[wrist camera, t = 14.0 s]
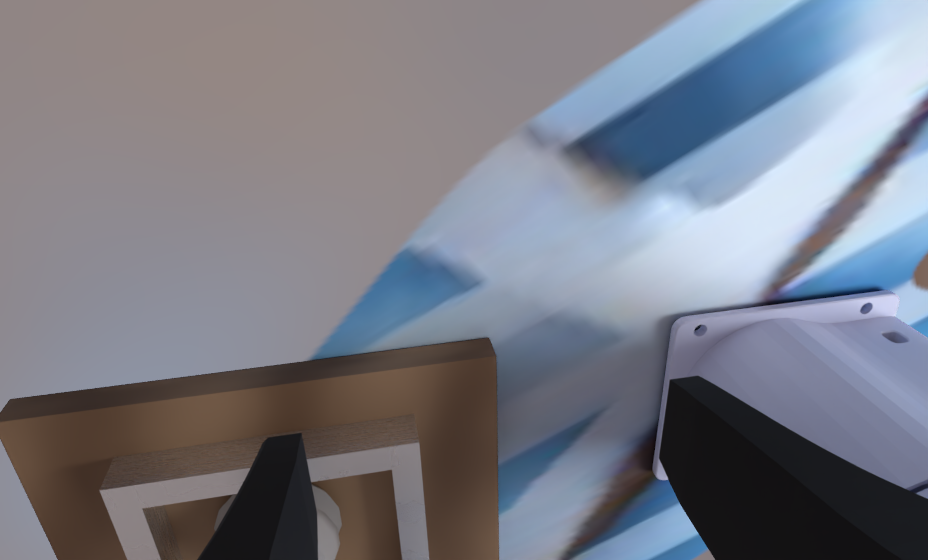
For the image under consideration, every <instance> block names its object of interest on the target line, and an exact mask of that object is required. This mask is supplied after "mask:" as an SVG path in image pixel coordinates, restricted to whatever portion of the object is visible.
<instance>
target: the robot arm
mask: <svg viewBox="0 0 928 560" xmlns="http://www.w3.org/2000/svg"><path fill="white" fill-rule="evenodd" d="M899 302H900V298H899V296H898V295H896V294H895V293H893V292H891V291H889V290H884V291H876V292H868V293H861V294H853V295H845V296H837V297H830V298H822V299H814V300H806V301H799V302H791V303H783V304H776V305H768V306H760V307H752V308H745V309H737V310H729V311H722V312H714V313H706V314H698V315H691V316H684V317H681V318H679V319H678V320H676V321H675V323H674V324H673V325H672V328H671V335H670V342H669V349H668V357H667V364H666V372H665V379H664V386H663V394H662V401H661V409H660V416H659V423H658V431H657V438H656V446H655V453H654V460H653V468H652V469H653V472H654V474H655V476H656V477H657V478H658V479H660V480H669V482H670V484H671V486H672V488H673V490H674V492H675V494H676V496H677V498H678V500H679V502H680V504H681V506H682V508H683V509H684V511H685V512H686V514H687V516H688V517H689V519H690V520H691V522H692V524H693V525H694V527H695V528H696V530H697V532H698V533H699V535H700V536H701V538H702V540H703V541H704V543H705V544H706V546H707V547H708V549H709V550H710V552H711V553H712V555H713V557H714V558H715V560H928V338H927V337H926V336H924V335H923V334H921V333H920V332H918V331H916V330H915V329H913V328H912V327H910V326H909V325H907V324H906V323H904V322H902V321H901V320H899V319H898V318H896V317H895V316H896V313H897V309H898V306H899ZM863 305H864V306H863ZM862 306H863V307H862ZM861 307H862V308H861ZM699 325H701V327H700V328H699V329H698V330H696V331H694V330H695V328H696V327H697V326H699ZM197 560H318V525H317V510H316V505H315V499H314V494H313V489H312V484H311V479H310V474H309V469H308V463H307V458H306V453H305V448H304V443H303V438H302V433H296V434H289V435H282V436H275V437H268V438H267V439H266V440H265V441H264V442H263V443H262V445H261V447H260V450H259V452H258V454H257V456H256V458H255V460H254V462H253V464H252V466H251V468H250V470H249V472H248V474H247V476H246V478H245V480H244V482H243V484H242V486H241V488H240V489H239V491H238V493H237V495H236V497H235V499H234V500H233V502H232V504H231V505H230V507H229V509H228V511H227V512H226V514H225V516H224V518H223V519H222V521H221V523H220V524H219V526H218V528H217V530H216V531H215V533H214V534H213V536H212V538H211V539H210V541H209V542H208V544H207V545H206V547H205V548H204V550H203V552H202V553H201V555H200V556H199V558H198V559H197Z"/></svg>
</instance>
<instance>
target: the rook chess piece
mask: <svg viewBox="0 0 928 560" xmlns="http://www.w3.org/2000/svg"><path fill="white" fill-rule="evenodd" d="M312 489H313V494H314V499H315V505H316V510H317V525H318V560H335V557H336V555H337V552H338V549H339V546H340V539H339V531H340V528H341V526H342V522H341V516H340V510H339V507H338V506H337V505H336V503H335V502H334V501H333V500H332V499H331V497H330V496H329V495H328V494H327V493H326V492H325V491H324V490H322V489H321V488H319V487H317V486H315V485H313V484H312ZM236 495H237V494H233V495H232V496H231V498H230V499H229V500H228V501H227V502H226V503H225V504H224V505H223V506H222V507H221V508H220V509H219V512H218V515H217V519H216V522H215V526H214V530H215V531H216V530H217V528H218V526H219V524H220V523H221V521H222V519H223V518H224V516H225V514H226V512H227V511H228V509H229V507H230V505H231V504H232V502H233V500H234V499H235V497H236Z"/></svg>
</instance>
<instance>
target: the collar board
mask: <svg viewBox="0 0 928 560" xmlns="http://www.w3.org/2000/svg"><path fill="white" fill-rule="evenodd" d="M296 433H302V438H303V443H304V448H305V453H306V458H307V463H308V469H309V474H310V479H311V484H313V485H315V486H317V487H319V488H321V489H322V490H324V491H325V492H326V493H327V494H328V495H329V496H330V497H331V499H332V500H333V501H334V502H335V503H336V505H337V506H338V507H339V510H340V516H341V522H342V526H341V528H340V531H339V539H340V546H339V549H338V552H337V555H336V557H335V560H499V522H498V445H497V368H496V354H495V351H494V349H493V347H492V344H491V342H490V339H489V338H483V339H475V340H468V341H460V342H452V343H444V344H436V345H429V346H421V347H413V348H405V349H398V350H390V351H382V352H374V353H366V354H359V355H351V356H343V357H335V358H328V359H320V360H312V361H304V362H297V363H289V364H281V365H274V366H265V367H258V368H250V369H242V370H235V371H226V372H219V373H211V374H203V375H196V376H188V377H180V378H172V379H165V380H156V381H149V382H142V383H134V384H125V385H118V386H110V387H103V388H95V389H87V390H79V391H71V392H64V393H55V394H48V395H40V396H32V397H24V398H17V399H10V400H9V401H8V403H7V404H6V405H5V407H4V408H3V410H2V411H1V412H0V439H1V441H2V443H3V445H4V447H5V450H6V452H7V454H8V456H9V458H10V460H11V462H12V464H13V467H14V469H15V471H16V473H17V475H18V477H19V479H20V481H21V483H22V485H23V487H24V489H25V492H26V494H27V496H28V498H29V500H30V502H31V504H32V506H33V508H34V511H35V513H36V515H37V517H38V519H39V521H40V523H41V525H42V527H43V529H44V532H45V534H46V536H47V538H48V540H49V542H50V544H51V546H52V548H53V550H54V553H55V555H56V557H57V559H58V560H197V559H198V558H199V556H200V555H201V553H202V552H203V550H204V548H205V547H206V545H207V544H208V542H209V541H210V539H211V538H212V536H213V534H214V533H215V530H214V526H215V522H216V519H217V515H218V512H219V509H220V508H221V507H222V506H223V505H224V504H225V503H226V502H227V501H228V500H229V499H230V498H231V496H232V495H233V494H237V493H238V491H239V489H240V488H241V486H242V484H243V482H244V480H245V478H246V476H247V474H248V472H249V470H250V468H251V466H252V464H253V462H254V460H255V458H256V456H257V454H258V452H259V450H260V447H261V445H262V443H263V442H264V441H265V440H266V439H267V438H268V437H275V436H282V435H289V434H296Z"/></svg>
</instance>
